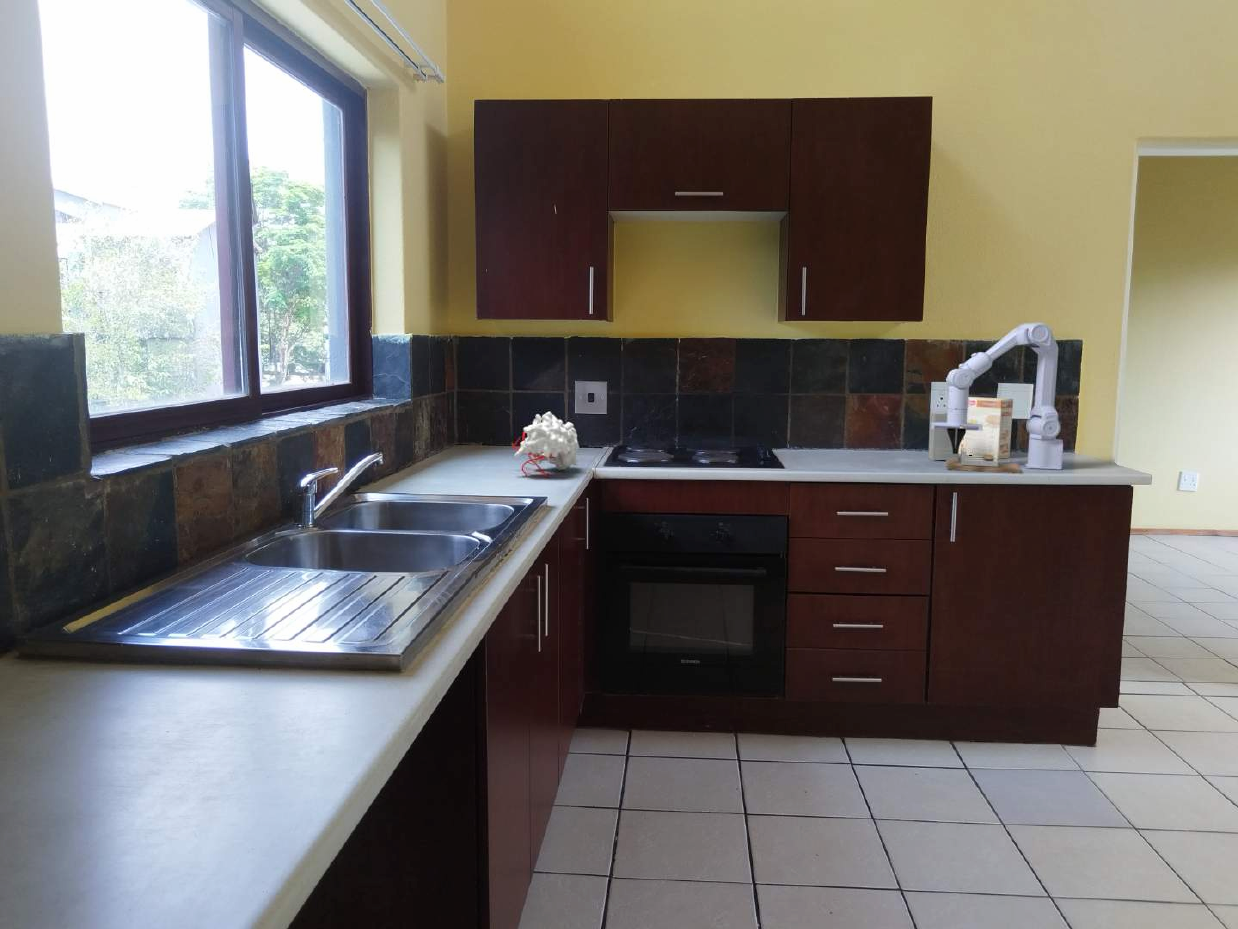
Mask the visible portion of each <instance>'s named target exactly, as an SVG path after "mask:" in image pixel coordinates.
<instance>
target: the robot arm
mask: <svg viewBox="0 0 1238 929" xmlns="http://www.w3.org/2000/svg"><path fill="white" fill-rule="evenodd" d="M1022 345H1025V346H1027V347H1029V348H1030V349H1031V350H1033V351H1034V352H1035V353H1036V354H1037V366H1036V380H1035V381H1036V382H1035V394H1034V406H1033V407H1032V409H1031V411H1030V412H1029V413H1030V414H1029V418H1028V419H1027V421H1026V424H1025V425H1026V431H1027V432H1028V433H1029V438H1028V439H1029V440H1028V452H1027V462H1026V463H1024V465H1025V467H1026V468H1027V469H1040V470H1041V469H1042V470H1043V469H1045V470H1062V466H1063V454H1064V440H1063V439H1059V438H1058V439H1057V436H1058V435H1059V434H1060V432H1061V423H1060V421H1059V413H1058V412H1057V409H1056V407H1055V401H1056V400H1055V398H1056V385H1057V384H1056V383H1057V374H1058V373H1057V371H1058V357H1059V346H1058V344H1057V342H1056V340H1055V338H1054V335H1053V329H1052V328H1051V327H1050V326H1048V324H1046V323H1045V322H1040V321H1039V322H1023V323H1021V324H1019V325H1018V326H1017V327H1015V328H1013V329H1011V330H1010V331H1009V333H1007V334H1006V335H1005V336H1004V337H1002V338H1001V339H999V341H998V342H996V343H995V344H994V345H993V346H992V347H990V348H989V349H987V350H986V352H982V351H979V352H974V353H972V354H971V355H970V356H971V358H969V359H968V360H966V361H965V362H964V363H960V364H959V365H958V368H954V369H952V370H950V371H949V373H948V375H947V377H946V378H945V381H946V384H947V385H948V393H947V394H948V395H947V411H948V412H947V422H932V424H931V429H947V433H948V435H949V438H950V440H951V444H952V449H953V454H958V449H959V446H960V443H961V441H962V439H963V437H964V435H965V433H966V430H978V431H982V429H983V424H972V423H967V414H968V397H970V394H969V392H970V387H971V386H972V385H973V382H974V380H976V379H977V378H978V377H980V376H981V375H982V374H984V373H985V372H987V371H988V370H989V369H990V368H992V365H993V361H995V360H997V358H999V357H1000V356H1002V355H1003V354H1005V353H1006V352H1009V350H1011V349H1012V348H1014V347H1015V346H1022ZM946 427H963V428H946ZM956 430H957V439H956V448H955V438H956Z"/></svg>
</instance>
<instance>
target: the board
mask: <svg viewBox="0 0 1238 929" xmlns="http://www.w3.org/2000/svg"><path fill="white" fill-rule="evenodd" d="M983 457H984V459H986V461H992V460H993V459H994V457H993V455H983ZM945 462H946V464H947V465H946V464H945V465H946V470H947V469H952V470H951V471H960V470H975V471H974V472H980V471H991V472H990V473H1000V472H1012V473H1011V474H1021V469H1020V466H1019V465H1018V463H1017V462H1016V463H1015V462H999V461H998V467H995V466H974V465H961V461H960V460H958V461H957V460H947V461H945Z"/></svg>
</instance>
